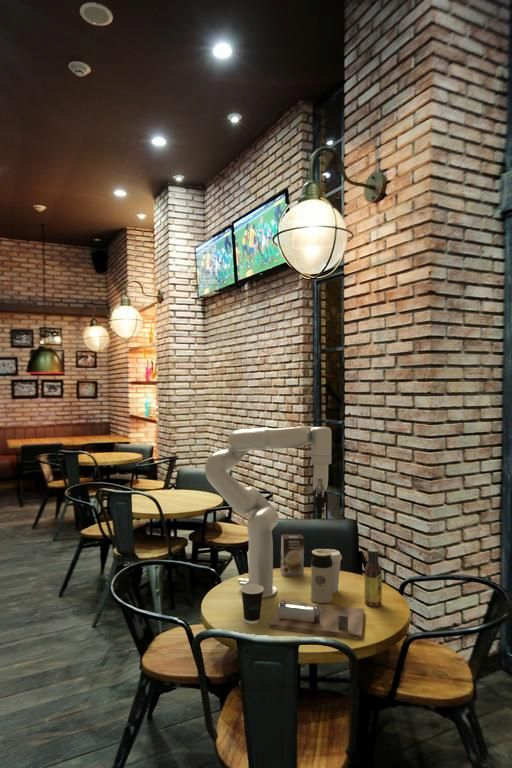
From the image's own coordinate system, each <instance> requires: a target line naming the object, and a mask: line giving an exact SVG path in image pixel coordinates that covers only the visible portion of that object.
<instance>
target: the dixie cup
mask: <svg viewBox="0 0 512 768" xmlns="http://www.w3.org/2000/svg"><path fill="white" fill-rule="evenodd" d="M263 590H264V588H263V587H262V586H260V585H256V584H248V585H244V586H241V588H240V591H241V599H242V610H243V618H244V622H245V623H247V624H249V625H255V624H258V623H260V618H261V611H262V603H263V602H262V601H263V598H262V594H263Z"/></svg>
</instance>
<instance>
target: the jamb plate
mask: <svg viewBox="0 0 512 768" xmlns="http://www.w3.org/2000/svg"><path fill="white" fill-rule="evenodd" d="M280 601H285V602H286V604H288V605H297V606H306V607H314V606H319V607H320V622H319V623H315V622H309V621H301V620H292V619H284V618H279V606H280V602H279V604H278V606H277V608H276V610H275V612H274V614H273V616H272V617H271V620H270V622H269V624H268V625H269V626H268V627H269V629H273V630H280V631H286V632H287V631H289V632H296V633H304V634H313V635H319V634H320V635H321V636H327V637H335V636H337V637H336V638H343V637H348V638H347V639H351V638H357V639H356V640H359V639H362V638H363V630H364V629H363V628H364V618H365V609H364V608H357V607H351V606H350V607H349V606H340V605H339V606H338V605H331V604H324V603H314V602H313V603H311V602H303V601H296V600H294V601H293V600H285V599H281V600H280ZM320 635H319V636H320ZM338 636H340V637H338ZM341 636H342V637H341Z"/></svg>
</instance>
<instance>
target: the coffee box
mask: <svg viewBox="0 0 512 768" xmlns="http://www.w3.org/2000/svg"><path fill="white" fill-rule="evenodd" d="M280 537H281V540H280V542H281V543H280V545H281V546H280V573H281V575H282V576H283V577H298V576H300V577H301V576H304V567H305V566H304V563H305V561H304V560H305V557H304V556H305V555H304V554H305V538H304V536H303V535H302V534H281V536H280Z"/></svg>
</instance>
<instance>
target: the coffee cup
mask: <svg viewBox="0 0 512 768" xmlns="http://www.w3.org/2000/svg"><path fill="white" fill-rule="evenodd" d="M325 549H326V548H325ZM326 550H329V551H331V552H332V554H331V559H332V594H335V593H338V591H339V585H340V584H339V582H340V571H341V560H342V559H343V557H342V554H341V553H340V551H339V550H338V549H337V550H336V549H332V548H331V549H330V548H327V549H326Z"/></svg>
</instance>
